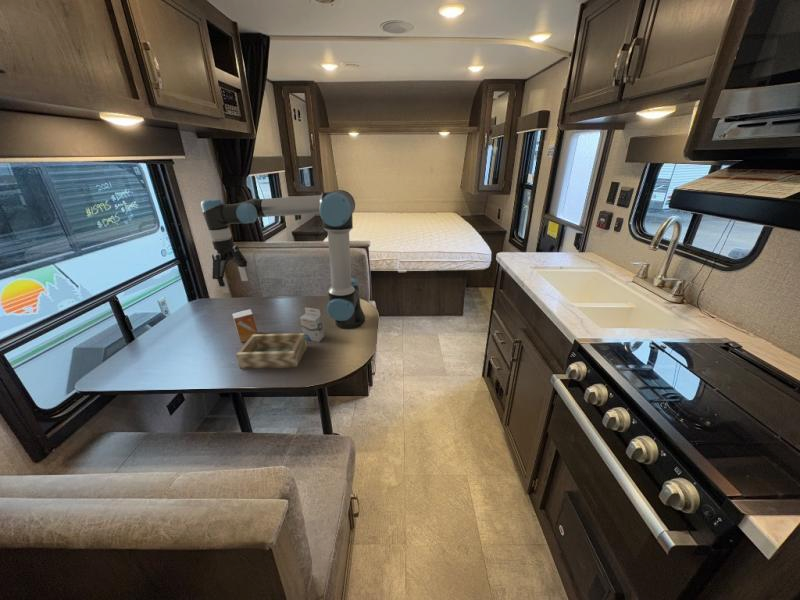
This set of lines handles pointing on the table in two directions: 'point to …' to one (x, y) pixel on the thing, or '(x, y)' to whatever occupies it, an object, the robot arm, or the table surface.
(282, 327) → the table surface
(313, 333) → the ink box
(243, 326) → the small box
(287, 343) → the crate
